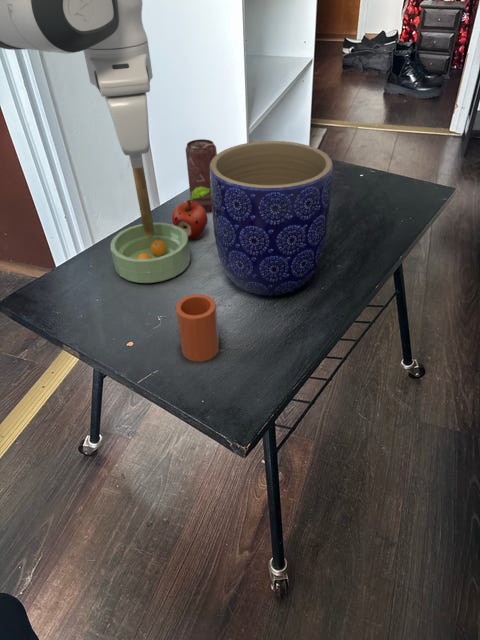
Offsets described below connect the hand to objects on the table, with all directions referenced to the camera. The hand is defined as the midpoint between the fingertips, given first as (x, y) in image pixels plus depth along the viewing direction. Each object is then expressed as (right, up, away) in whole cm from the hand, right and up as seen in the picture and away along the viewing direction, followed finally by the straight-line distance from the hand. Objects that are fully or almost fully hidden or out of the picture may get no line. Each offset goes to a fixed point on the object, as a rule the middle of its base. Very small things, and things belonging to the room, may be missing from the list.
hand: (136, 163), depth 76 cm
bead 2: (+1, -12, +13) cm, 17 cm away
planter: (+22, -18, +8) cm, 29 cm away
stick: (+1, -10, +9) cm, 14 cm away
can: (+9, 0, +30) cm, 31 cm away
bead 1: (-1, -15, +9) cm, 17 cm away
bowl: (0, -15, +12) cm, 19 cm away
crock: (+11, -29, -6) cm, 32 cm away
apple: (+7, -8, +20) cm, 23 cm away
